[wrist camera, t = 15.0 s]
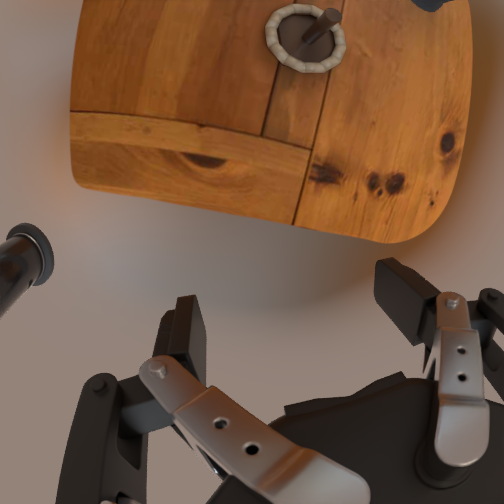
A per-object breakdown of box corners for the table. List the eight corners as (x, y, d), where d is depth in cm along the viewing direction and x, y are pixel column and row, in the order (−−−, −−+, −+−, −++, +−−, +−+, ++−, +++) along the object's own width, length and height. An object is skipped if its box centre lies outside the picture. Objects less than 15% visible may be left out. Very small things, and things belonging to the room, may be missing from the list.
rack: (282, 65, 32) (304, 43, 23) (274, 17, 29) (291, -15, 19) (337, 65, 32) (372, 48, 23) (327, 18, 29) (358, -8, 20)
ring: (270, 74, 31) (272, 72, 30) (259, 6, 27) (261, 2, 26) (348, 74, 32) (353, 73, 31) (335, 9, 28) (339, 6, 26)
